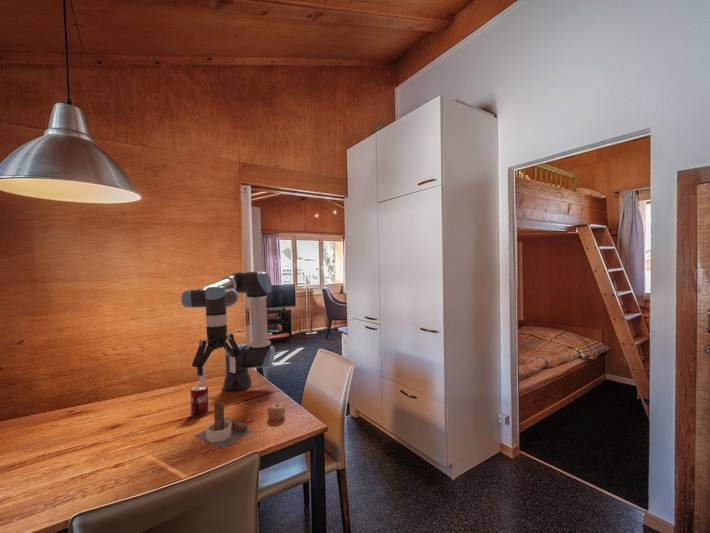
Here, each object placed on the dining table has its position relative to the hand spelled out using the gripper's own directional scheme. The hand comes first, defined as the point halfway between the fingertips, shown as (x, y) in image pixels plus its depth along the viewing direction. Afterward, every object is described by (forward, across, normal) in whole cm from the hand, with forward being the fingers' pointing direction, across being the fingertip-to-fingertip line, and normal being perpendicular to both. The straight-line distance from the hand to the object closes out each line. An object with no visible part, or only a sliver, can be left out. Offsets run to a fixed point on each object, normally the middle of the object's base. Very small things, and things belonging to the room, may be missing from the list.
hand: (218, 377), depth 127 cm
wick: (+22, -5, +2) cm, 23 cm away
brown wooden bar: (+21, +2, +2) cm, 21 cm away
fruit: (+23, -19, +12) cm, 32 cm away
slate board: (+23, 0, +2) cm, 23 cm away
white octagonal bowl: (+22, +2, +2) cm, 22 cm away
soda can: (+23, -7, -24) cm, 34 cm away
